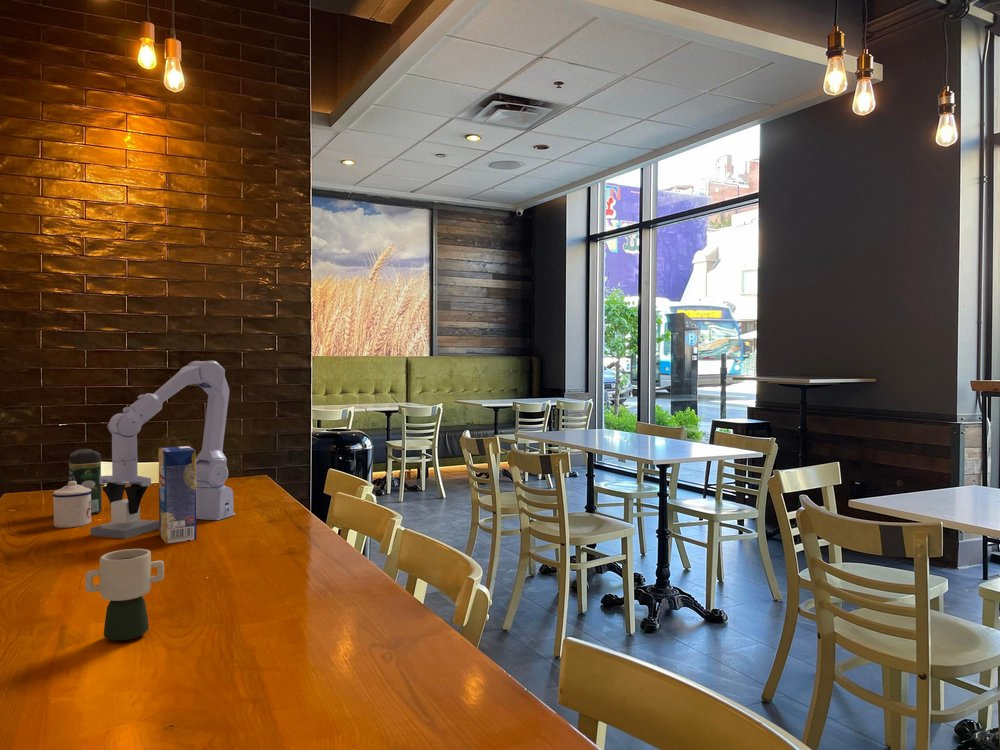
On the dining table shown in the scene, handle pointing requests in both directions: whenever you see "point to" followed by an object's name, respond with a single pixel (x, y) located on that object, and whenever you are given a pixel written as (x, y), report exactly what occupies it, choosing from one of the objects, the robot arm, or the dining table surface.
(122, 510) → the cream cube
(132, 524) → the slate block
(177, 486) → the beverage box
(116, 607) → the character mug
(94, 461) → the coffee jar
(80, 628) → the dining table surface
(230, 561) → the dining table surface
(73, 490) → the teacup with lid
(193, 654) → the dining table surface
